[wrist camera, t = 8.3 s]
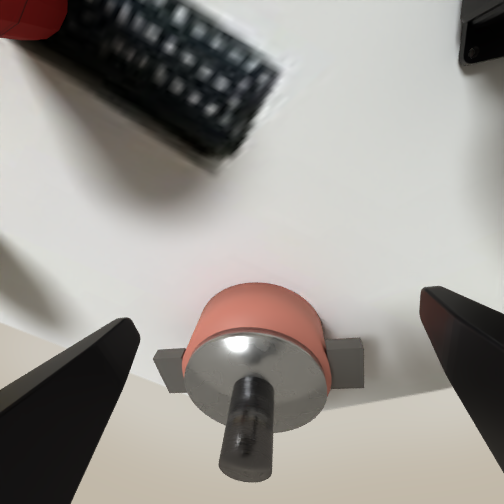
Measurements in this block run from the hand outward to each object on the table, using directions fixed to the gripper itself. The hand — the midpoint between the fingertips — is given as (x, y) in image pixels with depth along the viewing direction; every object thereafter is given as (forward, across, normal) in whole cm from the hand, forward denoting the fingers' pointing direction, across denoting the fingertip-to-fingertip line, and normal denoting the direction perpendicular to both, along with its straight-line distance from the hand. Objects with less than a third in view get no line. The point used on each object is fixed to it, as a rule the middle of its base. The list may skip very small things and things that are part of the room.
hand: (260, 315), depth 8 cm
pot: (+12, +4, +13) cm, 18 cm away
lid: (+7, +4, +13) cm, 15 cm away
